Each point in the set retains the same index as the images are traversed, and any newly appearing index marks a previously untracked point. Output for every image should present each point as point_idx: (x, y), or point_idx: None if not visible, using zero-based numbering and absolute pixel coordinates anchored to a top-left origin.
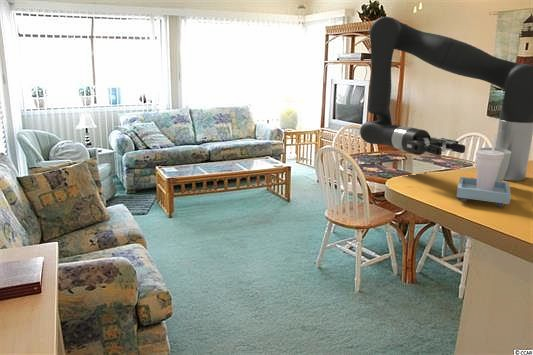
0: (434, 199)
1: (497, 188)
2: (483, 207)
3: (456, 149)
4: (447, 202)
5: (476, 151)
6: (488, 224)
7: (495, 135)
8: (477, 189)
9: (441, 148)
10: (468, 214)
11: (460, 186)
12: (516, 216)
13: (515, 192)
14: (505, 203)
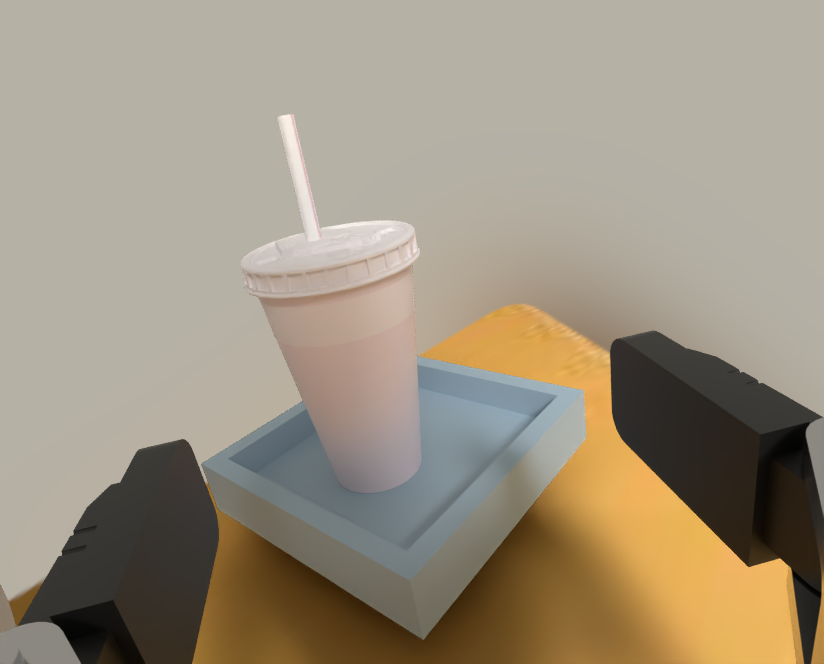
0: None
1: (284, 480)
2: None
3: (185, 596)
4: (631, 477)
5: (395, 245)
6: (560, 338)
7: (290, 116)
8: (487, 377)
9: (618, 341)
10: (588, 381)
11: (555, 403)
12: None
13: None
14: None
